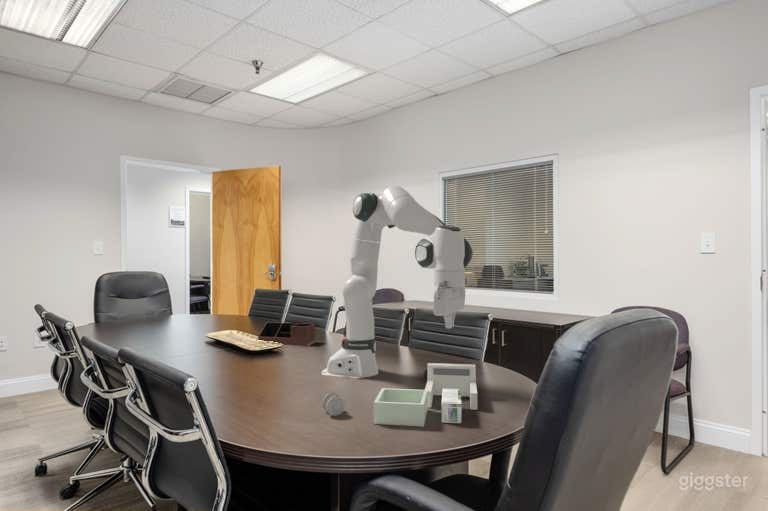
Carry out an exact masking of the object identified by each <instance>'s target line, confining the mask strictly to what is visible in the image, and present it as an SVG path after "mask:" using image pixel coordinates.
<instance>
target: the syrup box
mask: <svg viewBox="0 0 768 511" xmlns="http://www.w3.org/2000/svg"><path fill="white" fill-rule="evenodd" d="M462 404H463V403H462V396H461V389H442V395H441V409H440V410H441V411H440V412H441V413H440V418H441V423H446V424H462V411H463V410H462Z"/></svg>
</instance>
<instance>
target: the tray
mask: <svg viewBox="0 0 768 511" xmlns="http://www.w3.org/2000/svg"><path fill="white" fill-rule="evenodd" d="M427 414H428V407H427V390H425V389H414V388H413V389H412V388H411V389H410V388H389V387H388V388H385V387H383V388H381V389H380V391H379V392H378V394H377V396H376V397H375V400H374V401H373V424H375V425H389V426H390V425H391V426H404V427H405V426H409V427H425V422H426V418H427Z"/></svg>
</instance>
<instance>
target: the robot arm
mask: <svg viewBox="0 0 768 511" xmlns="http://www.w3.org/2000/svg"><path fill="white" fill-rule="evenodd" d="M352 213H353V216H354V217H355V219H357V220H356V224H355V228H354V231H353V237H352V242H351V250H350V257H349V260H350V277H349V278H348V279H347V280H346V281H345V283H344V284H343V288H342V296H343V302H344V303H343V305H344V311H345V319H346V320H345V322H346V323H345V325H346V326H345V328H346V329H345V330H346V332H345V333H346V335H345V337H344V338H342V340H341V341H340V345H341V348H340V349H338V350H337V351H336V352H335V353H334V354H332V355H331V356H330V357H329V359H328V361H327V366H326V368H324V369H323V370H322V371H321V375H322V376H327V377H335V378H345V379H351V380H358V379H364V378H369V377H374V376H376V375H378V374H379V370H378V365H377V360H376V351H377V350H376V349H377V342H376V337H375V316H374V309H373V308H374V307H373V298H374V297H375V295H376V291H377V284H378V283H377V282H378V268H379V257H380V249H381V242H382V241H381V240H382V231H383V229H384V228H385V227H387V228H388V229H393V228H395V227H396V228H398V229H399V230H401V231H404V232H408V233H418V234H423V235H426V236H427V237H425V238H422V239H420V240H419V241H418V242H417V244H416V246H415V249H414V250H415V251H414V252H415V254H414V256H415V257H414V258H415V261H416V262H417V264H418V265H419V266H420V267H421V268H424V269H429V270H430V269H431V270H433V269H434V273H433V274H434V279H433V280H434V282H433V283H434V285H433V286H434V287H436V288H435V289H434V292H433V304H432V305H433V306H432V310H433V315H434V316H438V317H443V320H444V324H445V326H444V327H445V328H446V329H450V330H451V329H452V328H454V326H455V318H456V312H458V311H460V310H463V309H464V308H465V301H466V286H467V285H468V278H467V277H466V274H465V272H466V270H465V268H466V267H467V266H468V265H469V264H470V263H471V261H472V259H473V255H474V254H473V249H472V245H471V244H470V242H469V241H468V240H467V239H466V237H464V233H463V230H462V228H460V227H458V226H454V225H447V224H446V223H444V222H443V221H442V220H441V219H440V218H439V217H438V216H436V215H435V214H433V213H431V212H430V211H428V210H427V209H426V208H424V207H423V206H422V205H421V204H419V202H417V200H416V199H415V198H414V197H413V195H411V194H410V193H409V192H408V191H407V190H406V189H404V188H403V187H401V186H399V185H391V186H389V187H386V189H384V191H383V192H382V194H381V195H380V194H375V193H374V192H373V193H371V192H366V193H365V192H363V193H360V194H358V195H357V196H356V197H355V199H354V201H353V204H352Z"/></svg>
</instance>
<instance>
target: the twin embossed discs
mask: <svg viewBox="0 0 768 511" xmlns="http://www.w3.org/2000/svg"><path fill="white" fill-rule="evenodd" d="M345 404H346V403H345V400H344V399H343V398H342V397H340V395H338V393H335V392H334V391H331V392H328V393H327V394H326V395H325V396H324V398H323V400H322V407H323V409H324V410H325V411H326V412H327V413H328V414H329V415H330V416H339V415H341V414H342V413H343V412H344V410H345V407H346V405H345Z"/></svg>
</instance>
